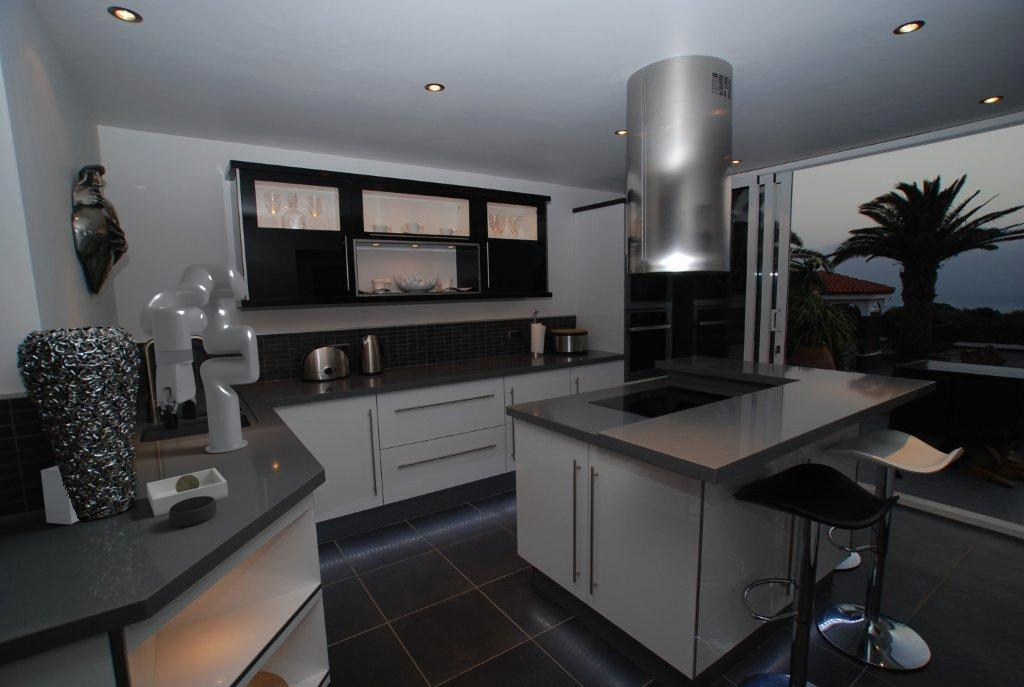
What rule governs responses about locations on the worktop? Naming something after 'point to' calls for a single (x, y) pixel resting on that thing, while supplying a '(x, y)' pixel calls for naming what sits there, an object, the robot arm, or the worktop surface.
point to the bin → (166, 495)
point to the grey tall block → (56, 498)
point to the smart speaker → (192, 511)
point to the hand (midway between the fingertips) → (181, 424)
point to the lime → (187, 483)
